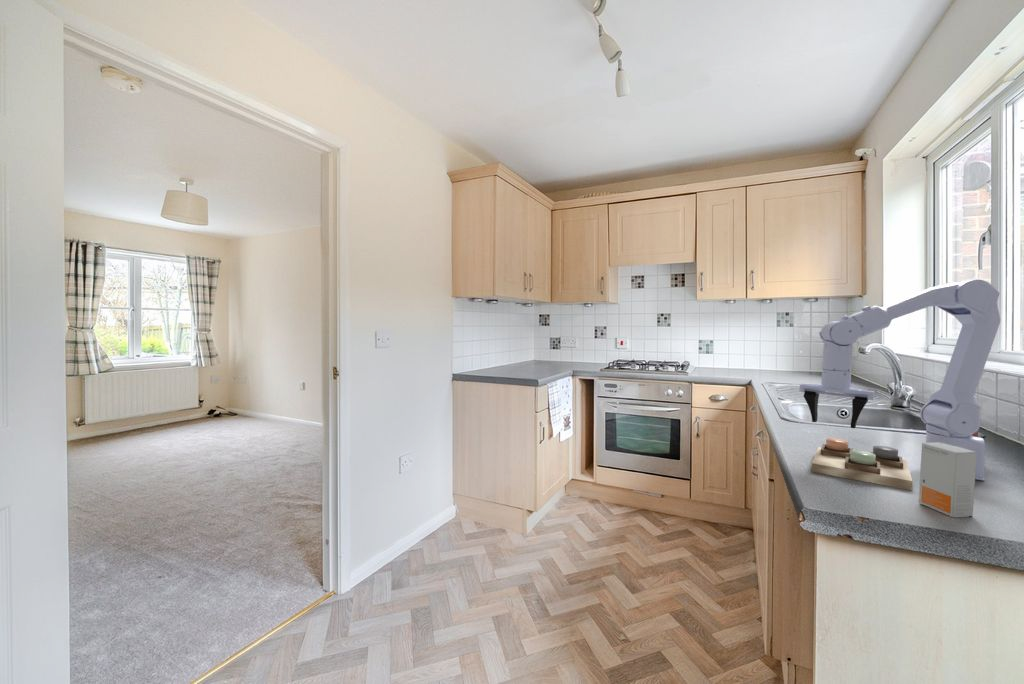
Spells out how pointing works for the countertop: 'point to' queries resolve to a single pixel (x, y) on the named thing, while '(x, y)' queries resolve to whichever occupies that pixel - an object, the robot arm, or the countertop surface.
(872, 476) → the button panel
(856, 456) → the sage button
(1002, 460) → the countertop surface
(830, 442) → the terracotta button
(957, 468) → the skincare box
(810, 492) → the countertop surface
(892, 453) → the charcoal button
